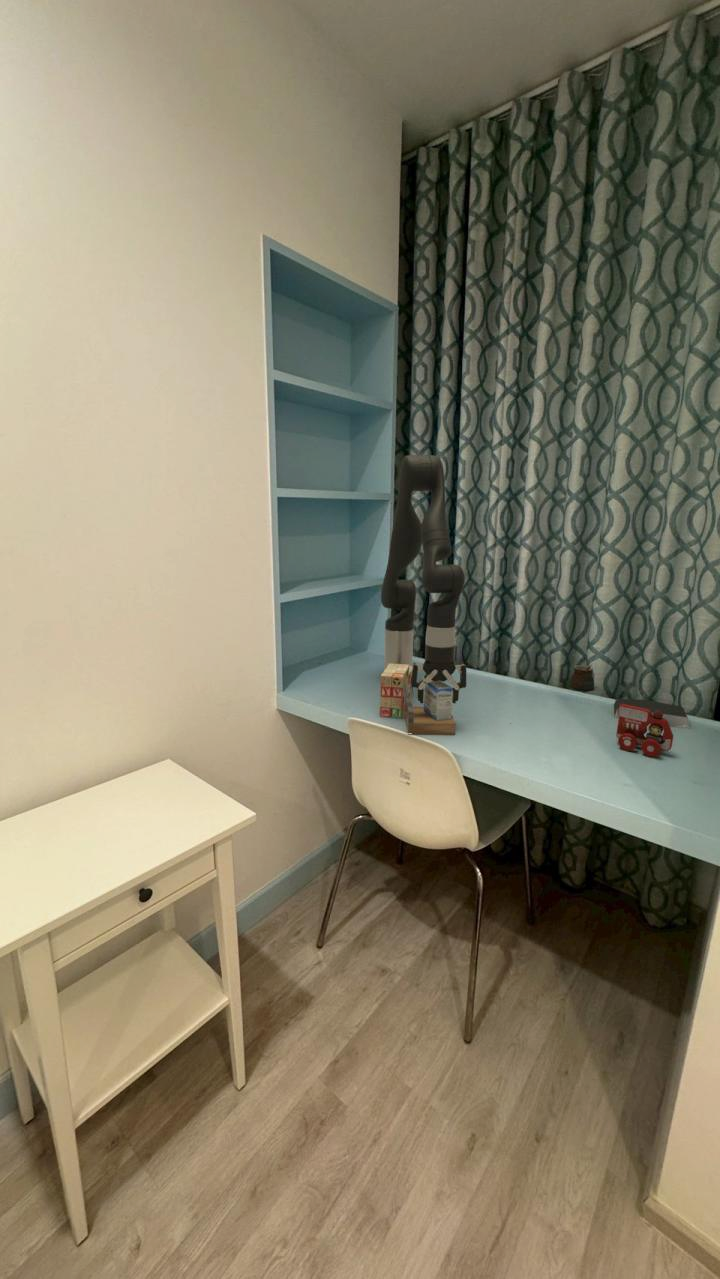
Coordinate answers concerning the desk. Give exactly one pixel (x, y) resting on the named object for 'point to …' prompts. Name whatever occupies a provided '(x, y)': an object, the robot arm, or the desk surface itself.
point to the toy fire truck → (643, 730)
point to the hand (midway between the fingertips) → (437, 702)
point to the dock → (426, 722)
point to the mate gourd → (582, 678)
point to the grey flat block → (670, 712)
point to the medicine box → (438, 700)
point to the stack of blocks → (395, 690)
